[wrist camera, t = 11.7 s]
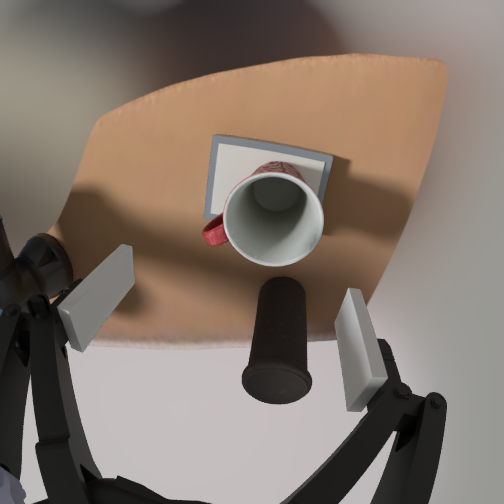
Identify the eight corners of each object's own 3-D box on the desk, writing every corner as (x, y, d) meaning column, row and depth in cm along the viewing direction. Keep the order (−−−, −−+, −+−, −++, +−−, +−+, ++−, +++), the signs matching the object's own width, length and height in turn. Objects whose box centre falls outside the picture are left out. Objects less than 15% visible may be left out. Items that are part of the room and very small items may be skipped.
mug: (297, 143, 34) (304, 156, 22) (320, 206, 37) (335, 251, 25) (209, 177, 37) (172, 207, 25) (235, 234, 40) (213, 287, 28)
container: (265, 320, 51) (253, 412, 33) (250, 280, 48) (229, 373, 30) (311, 311, 49) (317, 405, 31) (300, 269, 45) (305, 364, 28)
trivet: (208, 211, 43) (203, 218, 40) (218, 134, 37) (212, 135, 34) (311, 230, 42) (313, 239, 39) (330, 153, 37) (333, 156, 34)
